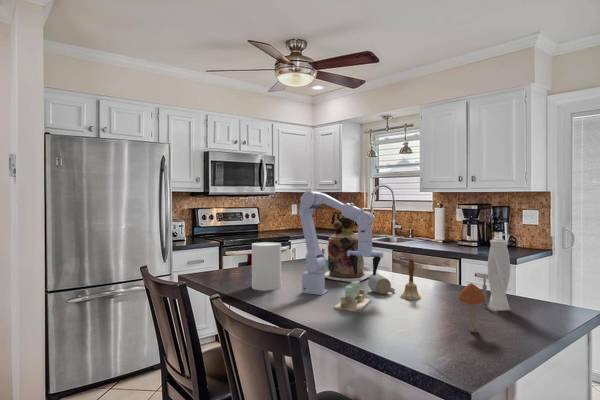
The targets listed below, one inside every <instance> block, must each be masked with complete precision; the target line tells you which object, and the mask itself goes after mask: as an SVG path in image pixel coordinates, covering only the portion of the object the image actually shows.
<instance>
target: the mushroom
mask: <svg viewBox="0 0 600 400" xmlns="http://www.w3.org/2000/svg"><path fill="white" fill-rule="evenodd" d="M457 299H458V300H459V301H460V302H461V303H465V304H468V305H467V306H468V315H469V316H468V329H469V332H470V333H478V332H479V322H478V316H477V307H476V306H477V305H480V304H482V303H484V302H485V301H486V298H485V296H484V294H483V290H481V289H480V288H479V287H478V286H477V285H475V284H474V283H472V282H471V283H469V284H467V285H465V286H464V288H463V289H462V290H461V291H460V293H459V295H458V298H457Z"/></svg>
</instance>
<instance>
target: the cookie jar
mask: <svg viewBox="0 0 600 400" xmlns="http://www.w3.org/2000/svg"><path fill="white" fill-rule="evenodd" d="M354 226H355V223H354V221H353V220H351V219H349V218H347V217H345V216H341V217H340V218H338V220H336V221H335V222H334V223H333V227H334V229H335V230H336V232H335V233H334V234H331V235H330V237H328V243H327V244H328V245H327V254H328V255H327V256H328V257H327V268H328V271H326V272H325V279H329V280H334V281H340V282H348V283H352V282H353V281H360V282H362V281H364V280H366V279H369V278H370V277H371V276H372V275H373V271H364V270H363V269H364V266H365V264H364V262H365V261H364V260H365V259H364V257H362V256H358V261H357V270H358V271H357V274H354V269H353V266H352V263H351V261H350V259H349V257H350V256H347V251H358V234H356V233H355V232H354V231H353V229H354Z"/></svg>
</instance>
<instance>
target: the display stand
mask: <svg viewBox="0 0 600 400" xmlns="http://www.w3.org/2000/svg"><path fill="white" fill-rule="evenodd" d="M371 300H372V298H371V299H370V298H365V289H362V288H360V294H359V295H358V296H357V297H356V298H350V297H345V296H340V302H338V303H337V304H336V305H334V306H333V309H334V310H341V311H348V310H349V311H348V312H357V311H358V312H360V313H361V312H362V311H363V310H364V309H365V308H366V307H367V306H368V305H369V304H370V303H371V302H372V301H371ZM367 304H368V305H367ZM366 305H367V306H366ZM365 306H366V307H365Z"/></svg>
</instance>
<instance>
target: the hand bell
mask: <svg viewBox="0 0 600 400" xmlns="http://www.w3.org/2000/svg"><path fill="white" fill-rule="evenodd" d="M414 261H415V260H414V259H413V258H409V261H408V265H407V269H408V270H407V271H408V273H409V274H408V277H409V278H408V282H407V283H405V286H404V290H403V293H402V294H400V298H401V299H404V300H408V301H417V300H422V296H421V295H420V294H419V292H418V287H417V284H416V283H414V273H415V268H416V266H415V262H414Z"/></svg>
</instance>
